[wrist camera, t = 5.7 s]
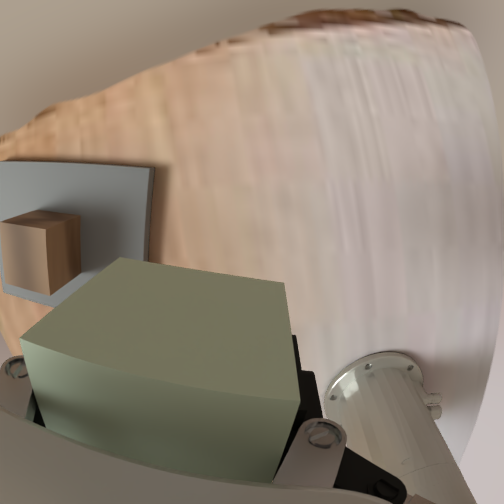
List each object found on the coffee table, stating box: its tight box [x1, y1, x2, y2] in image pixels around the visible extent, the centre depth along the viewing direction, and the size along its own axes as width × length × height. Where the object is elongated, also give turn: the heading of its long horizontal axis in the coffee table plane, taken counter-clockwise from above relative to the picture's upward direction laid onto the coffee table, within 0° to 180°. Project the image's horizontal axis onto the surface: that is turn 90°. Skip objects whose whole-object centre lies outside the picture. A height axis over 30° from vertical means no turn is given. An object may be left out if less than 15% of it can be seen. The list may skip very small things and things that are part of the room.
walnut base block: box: [0, 210, 81, 296], centre depth 26 cm, size 6×6×6 cm
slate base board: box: [0, 161, 155, 308], centre depth 30 cm, size 20×16×2 cm
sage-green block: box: [19, 257, 300, 483], centre depth 9 cm, size 6×6×6 cm
